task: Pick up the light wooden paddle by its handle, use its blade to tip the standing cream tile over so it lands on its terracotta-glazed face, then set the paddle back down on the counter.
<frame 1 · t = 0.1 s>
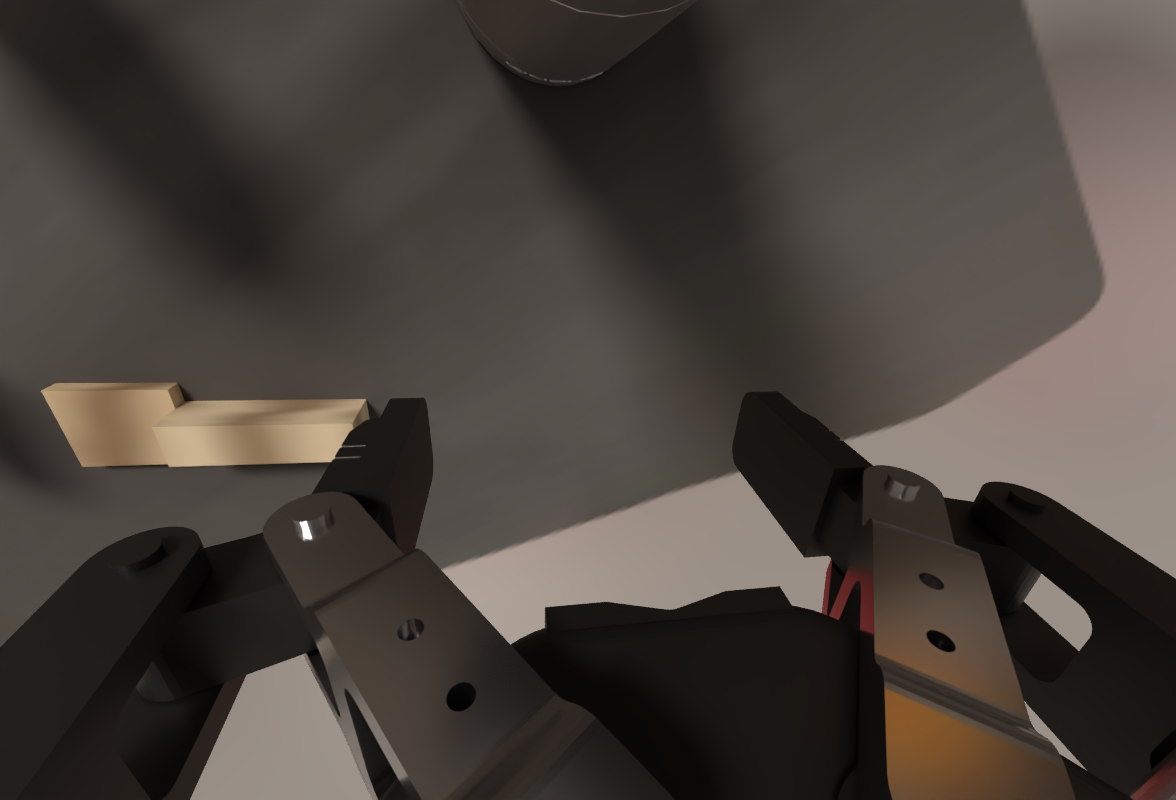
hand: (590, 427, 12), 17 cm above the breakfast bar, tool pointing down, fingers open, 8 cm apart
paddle: (229, 418, 28), on the breakfast bar
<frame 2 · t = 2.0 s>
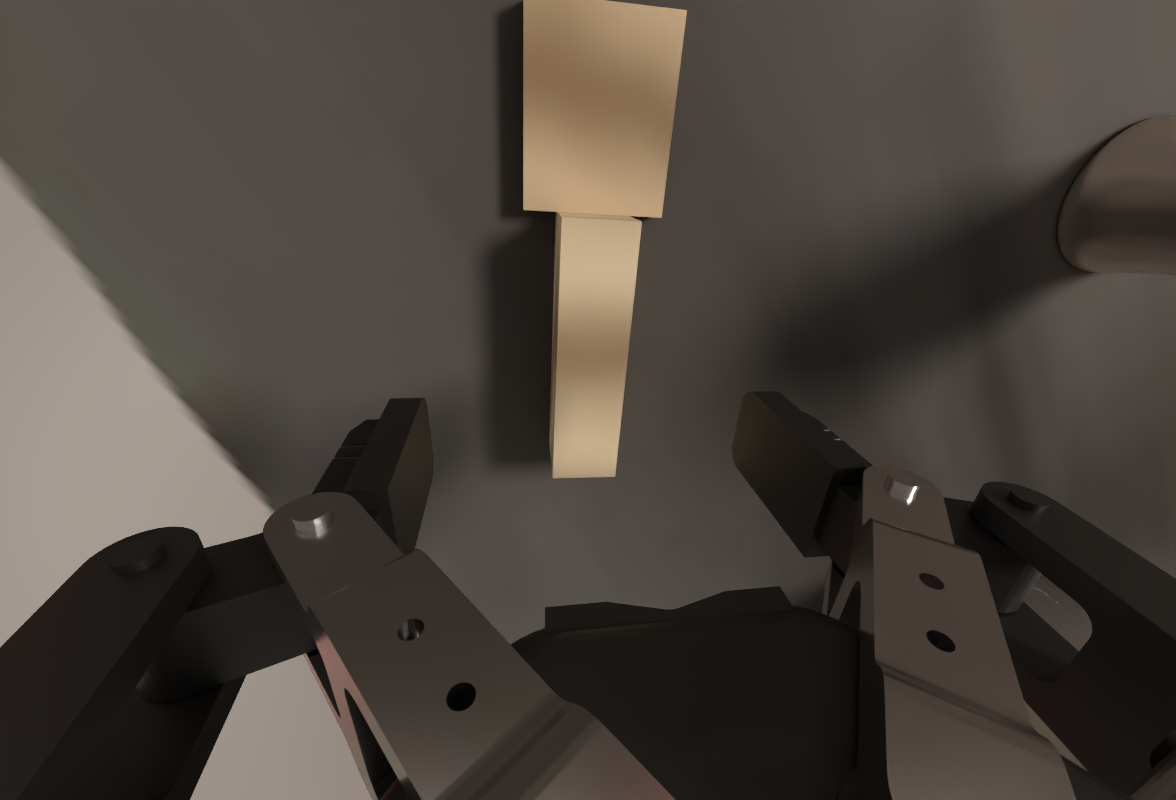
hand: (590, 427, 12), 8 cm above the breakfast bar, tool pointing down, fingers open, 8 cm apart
beer glass: (1119, 198, 20), on the breakfast bar
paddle: (587, 265, 18), on the breakfast bar
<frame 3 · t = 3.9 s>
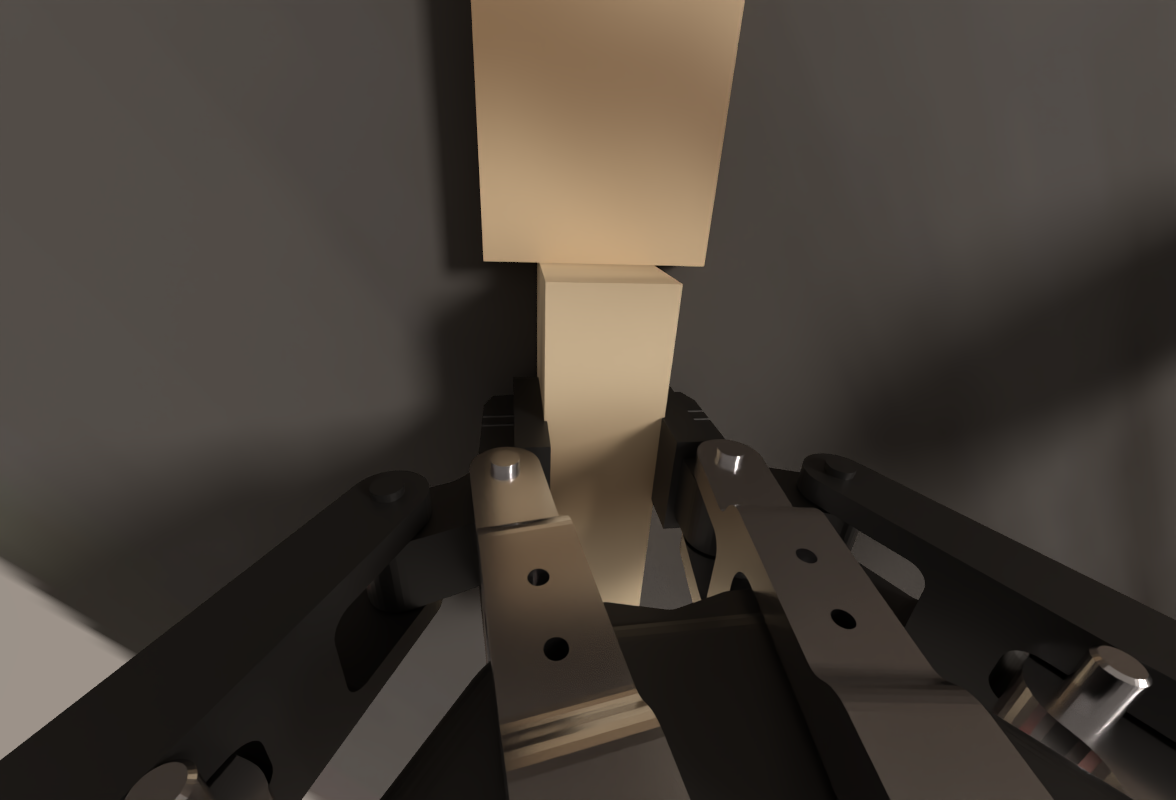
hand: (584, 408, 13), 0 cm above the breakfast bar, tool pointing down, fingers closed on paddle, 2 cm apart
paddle: (587, 335, 12), on the breakfast bar, touching gripper
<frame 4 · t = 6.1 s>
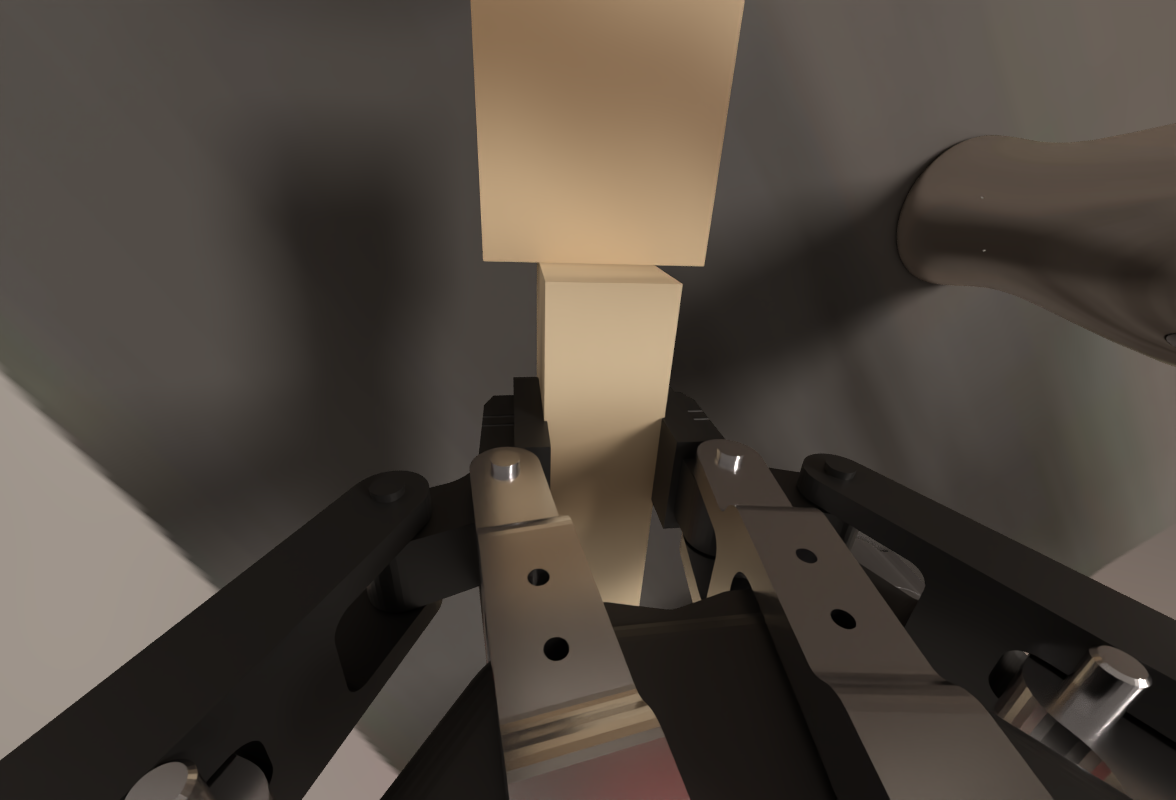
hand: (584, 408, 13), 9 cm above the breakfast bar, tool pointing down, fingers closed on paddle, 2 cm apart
beer glass: (956, 213, 21), on the breakfast bar
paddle: (587, 335, 12), point 8 cm above the breakfast bar, touching gripper
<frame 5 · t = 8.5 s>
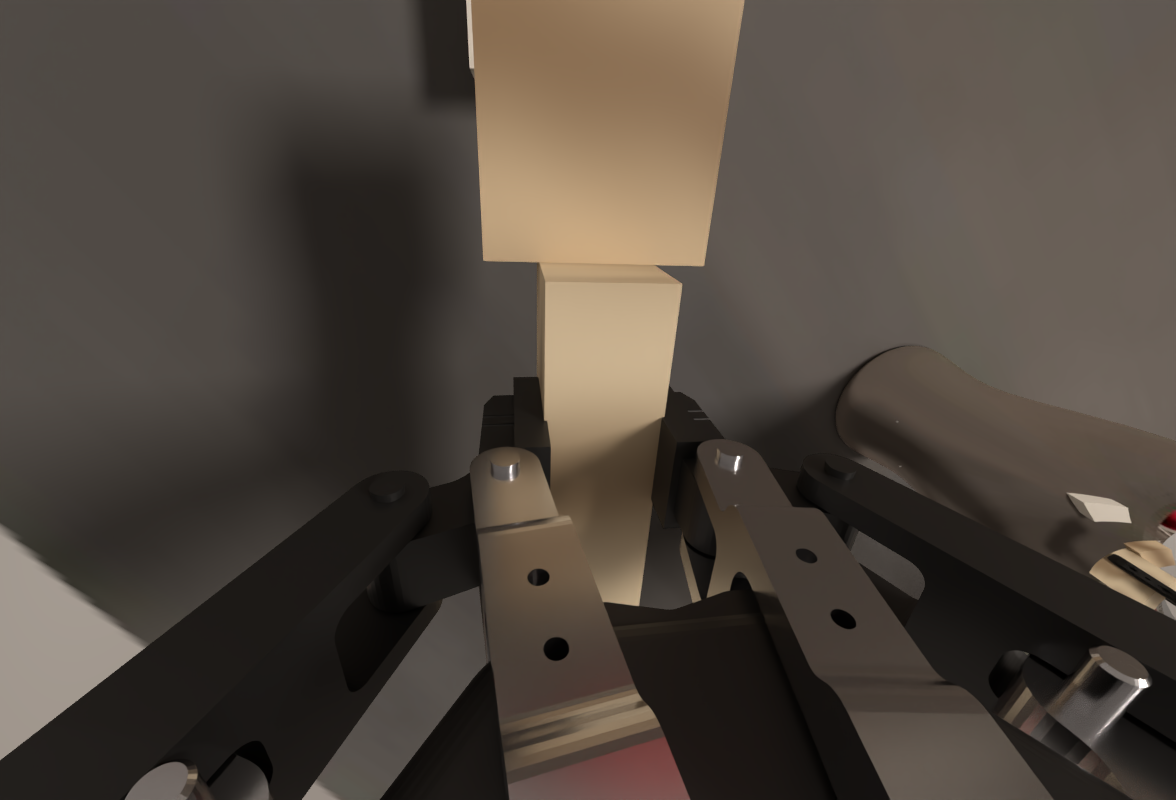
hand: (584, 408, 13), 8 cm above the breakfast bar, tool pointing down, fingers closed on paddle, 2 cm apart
beer glass: (887, 399, 24), on the breakfast bar
tile: (568, 82, 15), point 1 cm above the breakfast bar, tilted 90°
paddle: (587, 335, 12), point 7 cm above the breakfast bar, touching gripper
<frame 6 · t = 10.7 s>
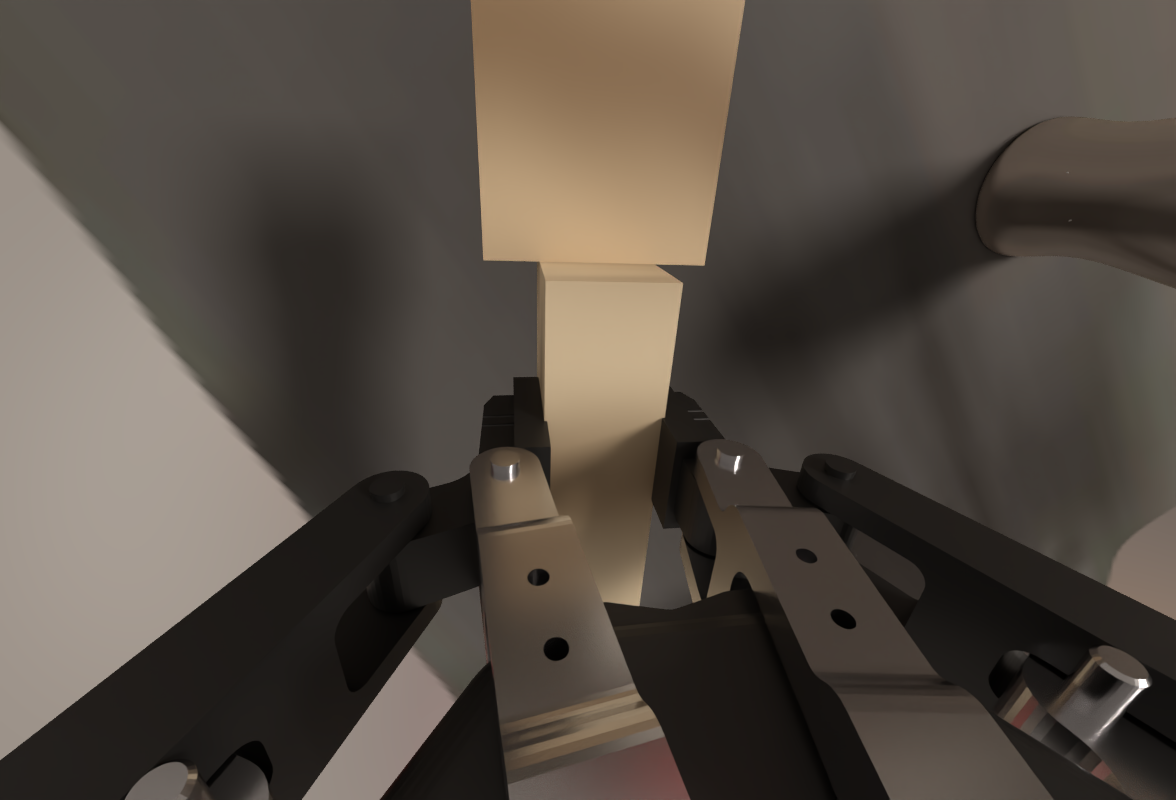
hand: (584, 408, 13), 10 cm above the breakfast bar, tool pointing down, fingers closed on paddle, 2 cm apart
beer glass: (1029, 190, 23), on the breakfast bar
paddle: (587, 334, 12), point 10 cm above the breakfast bar, touching gripper
when the fingers open (2 cm above the breakfast bar, at t = 12.4 s): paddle drops 1 cm, on the breakfast bar.
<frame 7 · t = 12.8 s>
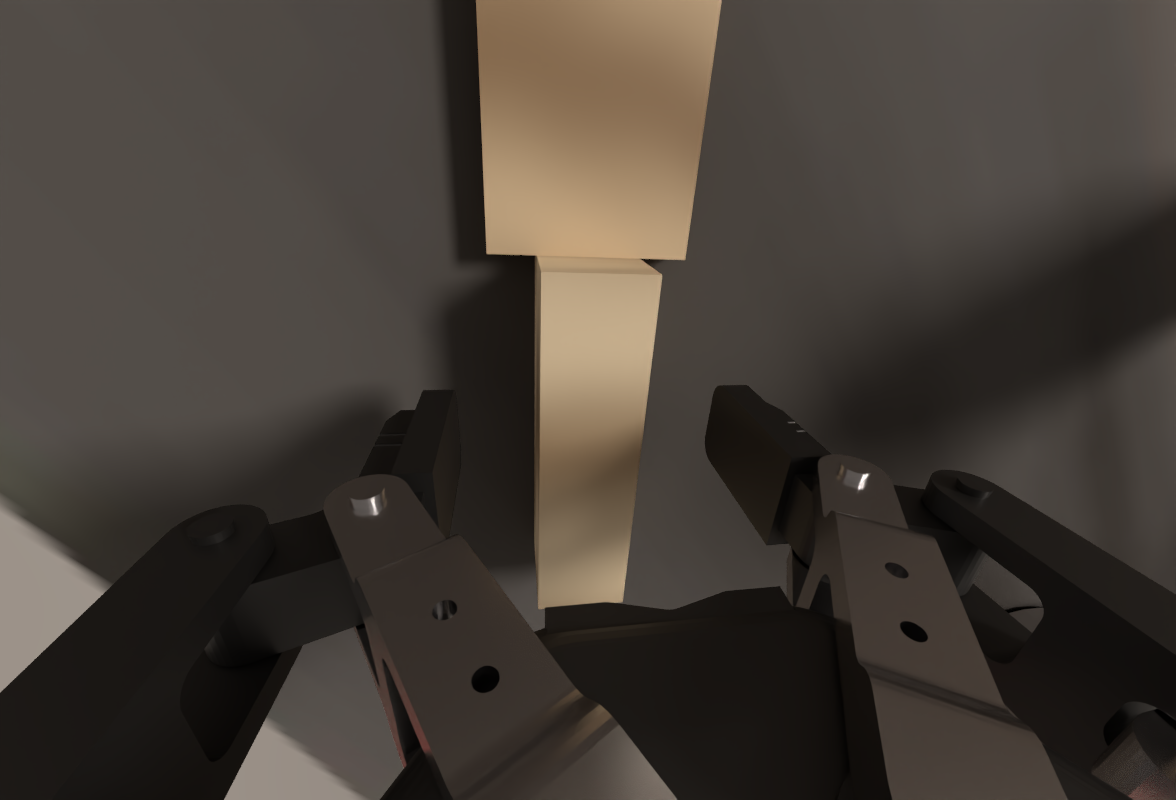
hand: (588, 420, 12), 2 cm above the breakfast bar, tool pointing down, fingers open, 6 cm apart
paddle: (580, 322, 13), on the breakfast bar
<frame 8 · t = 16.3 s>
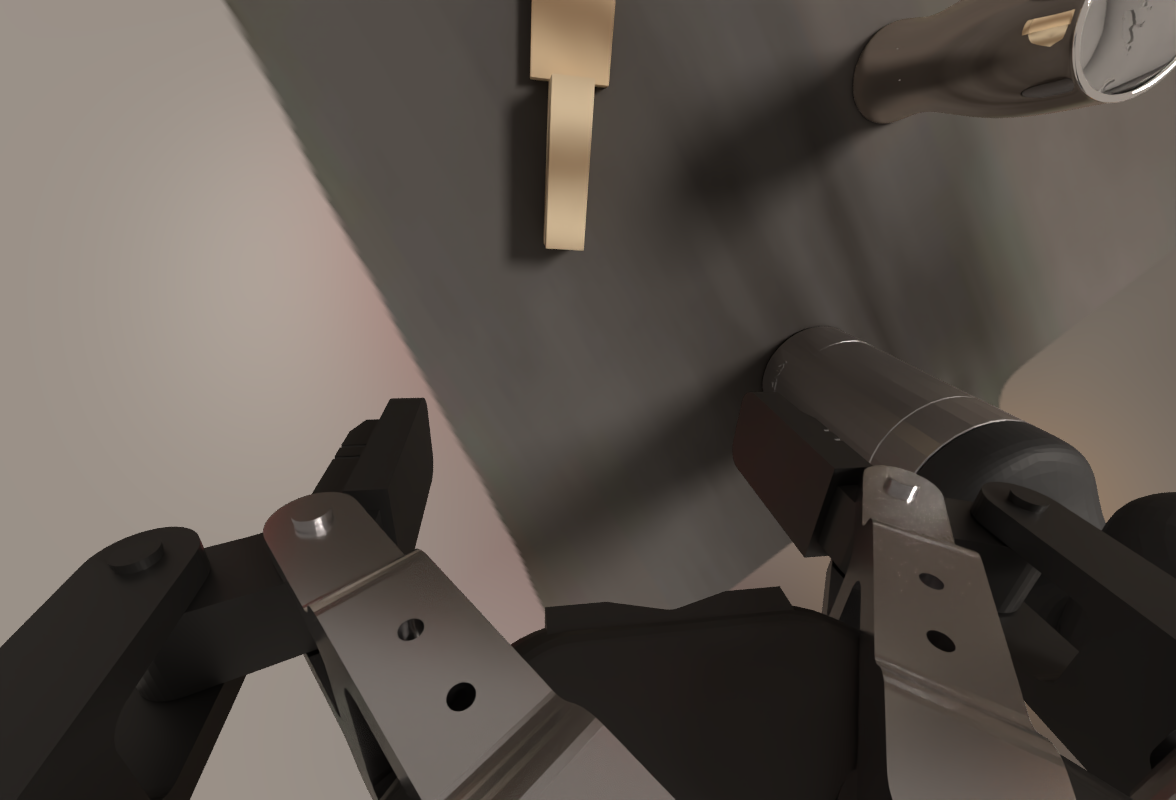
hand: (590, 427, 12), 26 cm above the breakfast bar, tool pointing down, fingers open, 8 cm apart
beer glass: (890, 74, 33), on the breakfast bar
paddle: (566, 119, 31), on the breakfast bar
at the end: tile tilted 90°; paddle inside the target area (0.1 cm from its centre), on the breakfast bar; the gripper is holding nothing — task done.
